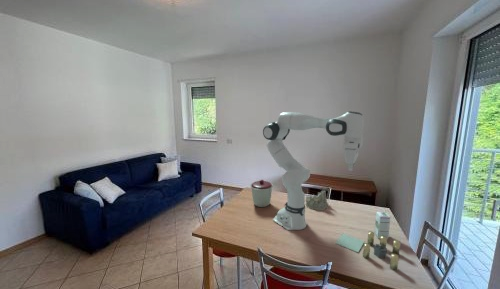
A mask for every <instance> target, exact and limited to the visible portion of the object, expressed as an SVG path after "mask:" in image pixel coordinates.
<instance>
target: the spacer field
mask: <svg viewBox="0 0 500 289" xmlns="http://www.w3.org/2000/svg"><path fill="white" fill-rule="evenodd" d="M379 239H380V240H379V244H380V245H383V246H385V247H386V248H387V242H388V239H387V237H386V236H380V238H379ZM374 240H375V231H372V230H371V231H368V233H367V241H366V242H364V244H363V252H362V258H364V259H365V260H369V259H370V257H371V256H370V255H371V247H374V242H375V241H374ZM392 242H393V243H392V251H391V252H392V253H391V254H390V255H391V256H390V262H389V263H390V264H389V268H390V270H392V271H394V272H396V271H398V267H399V258H400V249H401V241H399V240H398V239H393V241H392Z"/></svg>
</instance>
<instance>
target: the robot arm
mask: <svg viewBox="0 0 500 289" xmlns="http://www.w3.org/2000/svg"><path fill="white" fill-rule="evenodd" d="M364 123H365V121H364V115H363V114H362V113H361V112H357V111H352V110H351V111H349V110H348V111H346V112H345V113H344V114H342V115H340V116H337V117H334V118H327V117H319V116H313V115H309V114H306V113H302V112H298V111H285V112H281V113H280V114H279V115H278V117H277V120H276V121H273V122H270V123H268V124H266V125H265V126H264V127H263V130H262V136H263V137H264V138H265V139H266V140H267V143H266V147H267V149H268V152H269V154H270V155H271V157H272V158H273V159H274V161H275V163H276V164H277V165H278V167H280V169H281V168H282V169H283V170H285V171H286V172H285V173H284V174H283V175H282V177H281V184H282V186H283V187H285V189H286V194H287V202H285V203H284V204H283V208H280V209H279V210H278V211H277V213H276V215H275V216H274V217H273V222H274V223H276V224H277V223H278V225H279V226H281V227H282V226H283V227H282V228H284V229H285V230H287V231H295V230H296V231H300V230H303V229H305V228H306V227H307V221H306V216H305V213H306V206H305V205H306V197H305V196H306V195H305V193H304V191H303V188H302V185H303V183H305V182H306V181H308V180H309V178H310V177H311V170H310V168H308V167H307V166H306V165H303V164H302V163H300V162H299V161H298V160H297V159H295V158H294V156H293V155H292V154H291V153H290V151H289V149H288V148H287V147H286V145H285V144H284V142H283V141H284V140H286V138H287V137H288V135H289V133H290V132H291V130H293V131H306V130H312V129H325V130H326V132H327V133H328V135H330V136H333V137H338V136H342V135H343V149H344V161H345V164H346V165H347V167H348V168H347V171H349V172H353V170H354V169H353V167H355V166H356V161H357V159H358V157H359V151H360V149H361V148H362V147H364V146H363V145H364V144H363V143H364V135H363V132H364V128H365V126H364V125H365V124H364Z"/></svg>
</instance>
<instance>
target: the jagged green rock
mask: <svg viewBox="0 0 500 289" xmlns="http://www.w3.org/2000/svg"><path fill="white" fill-rule="evenodd" d="M326 192H327V191H326V190H321V191H320V192H319V191H318V192H317V196H316V195H315V194H313V195H309V196H308V195H307V196H306V197H305V205H306V206H307V208H308V207H309V209H311V210H315V211H325V210H326V209H327V208H328V206H329V203H328V201H327V193H326ZM306 206H305V207H306Z"/></svg>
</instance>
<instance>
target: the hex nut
mask: <svg viewBox="0 0 500 289" xmlns="http://www.w3.org/2000/svg"><path fill="white" fill-rule="evenodd" d="M387 250H388V248H387V246H386V247H385V246H383V245H380V243H378V244H377V243H375V245H374V249H373V251H374V252H373V255H374V256H376V257H377V258H379V259H386V257H387Z"/></svg>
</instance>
